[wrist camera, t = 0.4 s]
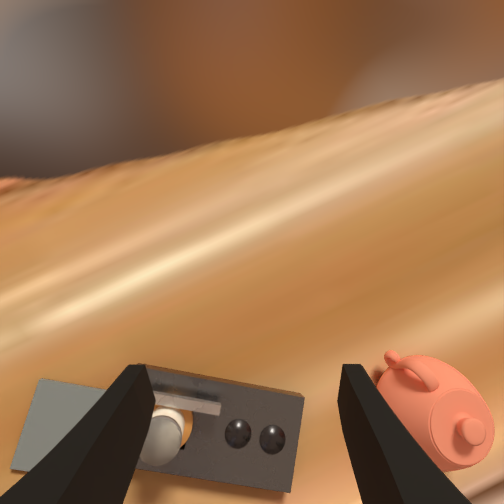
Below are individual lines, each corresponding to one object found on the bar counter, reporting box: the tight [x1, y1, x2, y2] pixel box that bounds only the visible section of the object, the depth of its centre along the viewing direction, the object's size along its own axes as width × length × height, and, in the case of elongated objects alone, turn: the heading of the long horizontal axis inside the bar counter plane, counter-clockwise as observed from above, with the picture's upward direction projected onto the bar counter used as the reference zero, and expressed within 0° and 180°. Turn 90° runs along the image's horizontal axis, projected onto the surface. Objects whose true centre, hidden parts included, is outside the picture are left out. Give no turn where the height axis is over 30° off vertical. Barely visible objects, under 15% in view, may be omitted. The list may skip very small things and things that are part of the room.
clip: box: [153, 391, 221, 416], centre depth 33 cm, size 2×10×3 cm, turn 79°
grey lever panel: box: [135, 363, 305, 493], centre depth 35 cm, size 10×20×2 cm, turn 79°
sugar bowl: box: [376, 350, 494, 471], centre depth 35 cm, size 12×14×10 cm
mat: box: [10, 378, 106, 472], centre depth 34 cm, size 9×8×1 cm
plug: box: [139, 405, 193, 467], centre depth 32 cm, size 6×6×8 cm
